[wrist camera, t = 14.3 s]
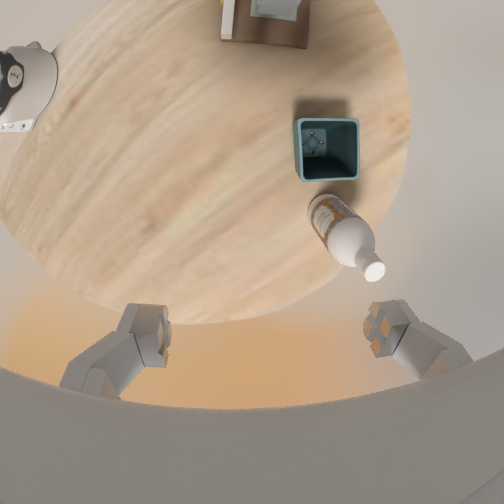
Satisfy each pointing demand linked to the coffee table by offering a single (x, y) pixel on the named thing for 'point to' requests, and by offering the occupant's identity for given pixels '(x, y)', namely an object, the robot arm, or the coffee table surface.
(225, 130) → the coffee table surface
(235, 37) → the shelf board
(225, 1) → the price rail
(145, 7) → the coffee table surface
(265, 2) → the product carton
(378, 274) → the bath foam
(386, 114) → the coffee table surface
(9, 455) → the robot arm
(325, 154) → the flower pot
